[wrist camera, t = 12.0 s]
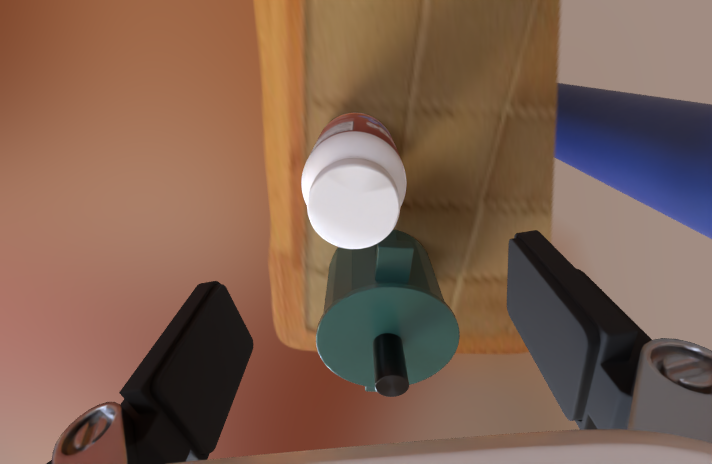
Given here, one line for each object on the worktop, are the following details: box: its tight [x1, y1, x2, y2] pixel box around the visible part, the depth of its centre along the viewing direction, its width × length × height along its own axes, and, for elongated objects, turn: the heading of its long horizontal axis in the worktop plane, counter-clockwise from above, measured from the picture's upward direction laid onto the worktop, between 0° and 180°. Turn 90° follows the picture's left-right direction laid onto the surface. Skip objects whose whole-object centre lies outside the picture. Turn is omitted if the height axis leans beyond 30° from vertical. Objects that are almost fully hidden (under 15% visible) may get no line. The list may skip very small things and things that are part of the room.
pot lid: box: [316, 283, 459, 397], centre depth 22 cm, size 11×11×5 cm
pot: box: [324, 229, 444, 392], centre depth 28 cm, size 10×15×8 cm, turn 178°
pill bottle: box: [302, 113, 407, 249], centre depth 21 cm, size 6×6×11 cm
